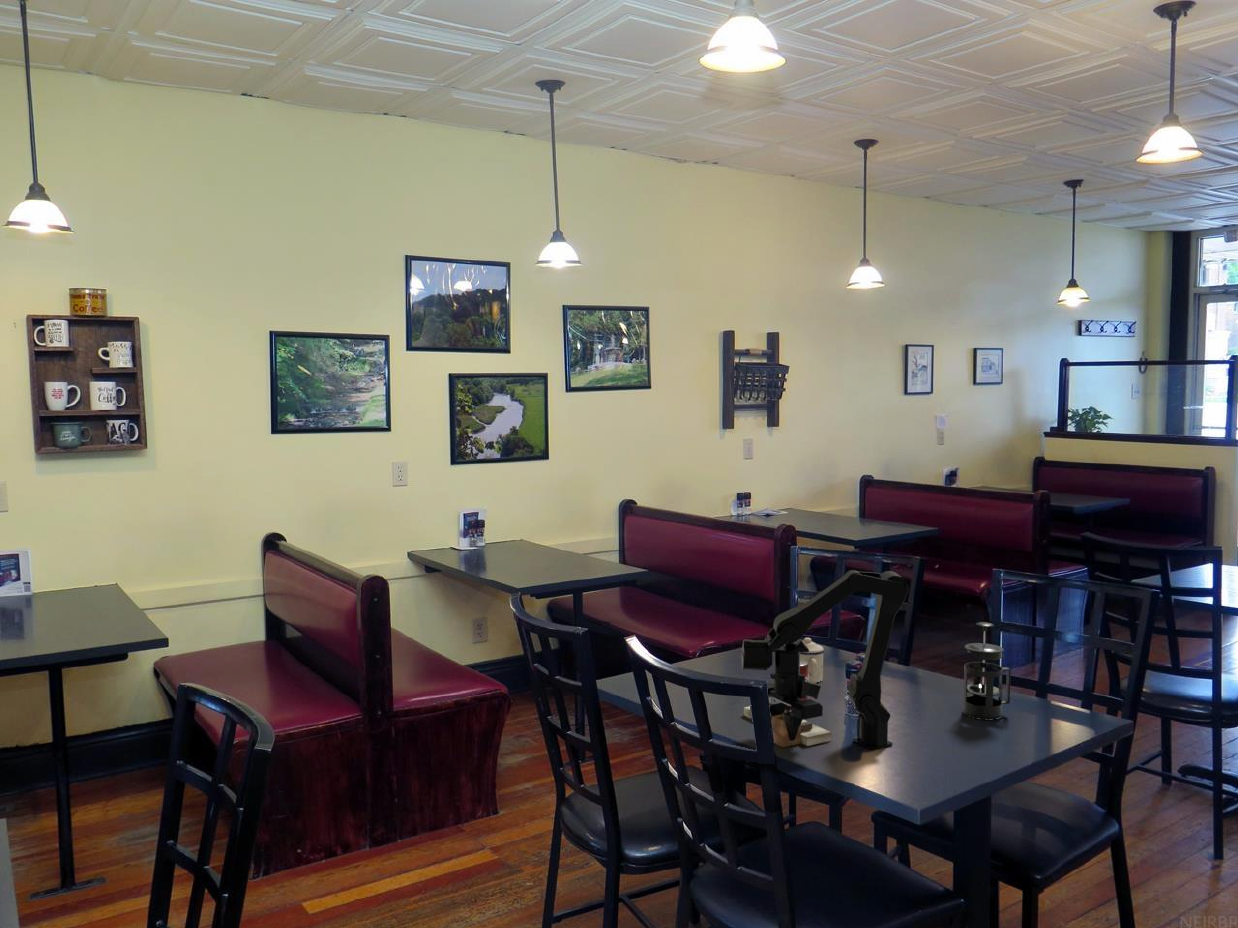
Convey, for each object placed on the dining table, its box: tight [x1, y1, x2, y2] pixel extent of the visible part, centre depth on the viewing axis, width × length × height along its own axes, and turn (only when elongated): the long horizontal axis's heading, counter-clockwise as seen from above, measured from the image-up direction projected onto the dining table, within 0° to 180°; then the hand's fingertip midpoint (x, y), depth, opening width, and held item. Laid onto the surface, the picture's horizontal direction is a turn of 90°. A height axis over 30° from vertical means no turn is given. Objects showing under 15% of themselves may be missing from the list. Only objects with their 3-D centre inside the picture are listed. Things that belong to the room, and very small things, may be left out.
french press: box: [961, 621, 1012, 719], centre depth 239 cm, size 12×9×23 cm
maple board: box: [743, 705, 832, 747], centre depth 230 cm, size 24×7×2 cm, turn 29°
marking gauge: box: [772, 711, 813, 748], centre depth 221 cm, size 4×10×7 cm, turn 119°
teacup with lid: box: [800, 637, 825, 684], centre depth 267 cm, size 12×9×12 cm
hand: (786, 737), depth 220 cm, fingers closed on marking gauge, 4 cm apart
